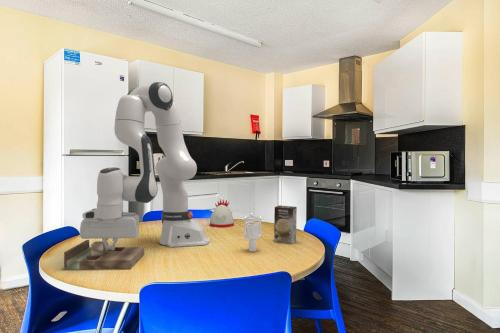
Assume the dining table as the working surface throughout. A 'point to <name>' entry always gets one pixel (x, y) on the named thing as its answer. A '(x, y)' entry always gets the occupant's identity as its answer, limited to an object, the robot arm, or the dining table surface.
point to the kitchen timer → (221, 216)
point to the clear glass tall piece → (252, 230)
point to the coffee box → (285, 224)
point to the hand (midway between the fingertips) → (110, 250)
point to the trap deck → (101, 258)
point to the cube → (98, 248)
